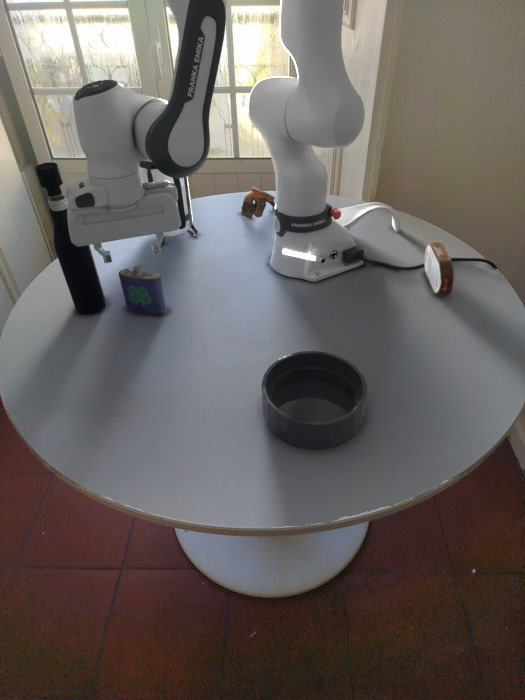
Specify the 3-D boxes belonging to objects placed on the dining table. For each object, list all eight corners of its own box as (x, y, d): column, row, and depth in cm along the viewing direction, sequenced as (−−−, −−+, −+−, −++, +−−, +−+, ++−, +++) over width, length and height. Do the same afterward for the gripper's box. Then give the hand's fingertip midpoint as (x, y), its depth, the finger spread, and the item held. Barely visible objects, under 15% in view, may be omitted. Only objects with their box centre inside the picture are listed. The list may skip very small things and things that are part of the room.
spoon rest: (312, 243, 121) (313, 216, 116) (306, 223, 130) (307, 198, 125) (403, 238, 121) (408, 211, 117) (391, 219, 130) (395, 194, 126)
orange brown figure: (236, 211, 138) (246, 183, 136) (264, 222, 142) (275, 196, 139) (242, 217, 128) (253, 187, 125) (273, 229, 131) (285, 201, 128)
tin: (449, 303, 99) (459, 268, 93) (434, 303, 99) (443, 268, 94) (432, 266, 110) (440, 233, 105) (419, 266, 110) (426, 233, 105)
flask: (169, 309, 100) (160, 265, 93) (163, 317, 98) (153, 272, 91) (130, 303, 102) (119, 260, 95) (123, 311, 100) (111, 267, 93)
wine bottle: (98, 316, 99) (53, 173, 79) (70, 313, 100) (19, 171, 80) (111, 299, 103) (72, 160, 84) (85, 296, 104) (40, 159, 85)
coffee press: (131, 242, 124) (103, 120, 105) (163, 217, 135) (143, 103, 116) (188, 253, 119) (170, 126, 99) (217, 226, 130) (205, 108, 110)
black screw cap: (334, 367, 84) (337, 341, 81) (381, 432, 73) (387, 406, 69) (249, 390, 81) (248, 364, 77) (284, 463, 69) (285, 437, 65)
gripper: (172, 173, 88) (181, 241, 96) (57, 188, 82) (78, 259, 91) (179, 184, 83) (188, 254, 92) (58, 201, 78) (80, 274, 87)
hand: (132, 257), depth 91 cm, fingers open, 8 cm apart
